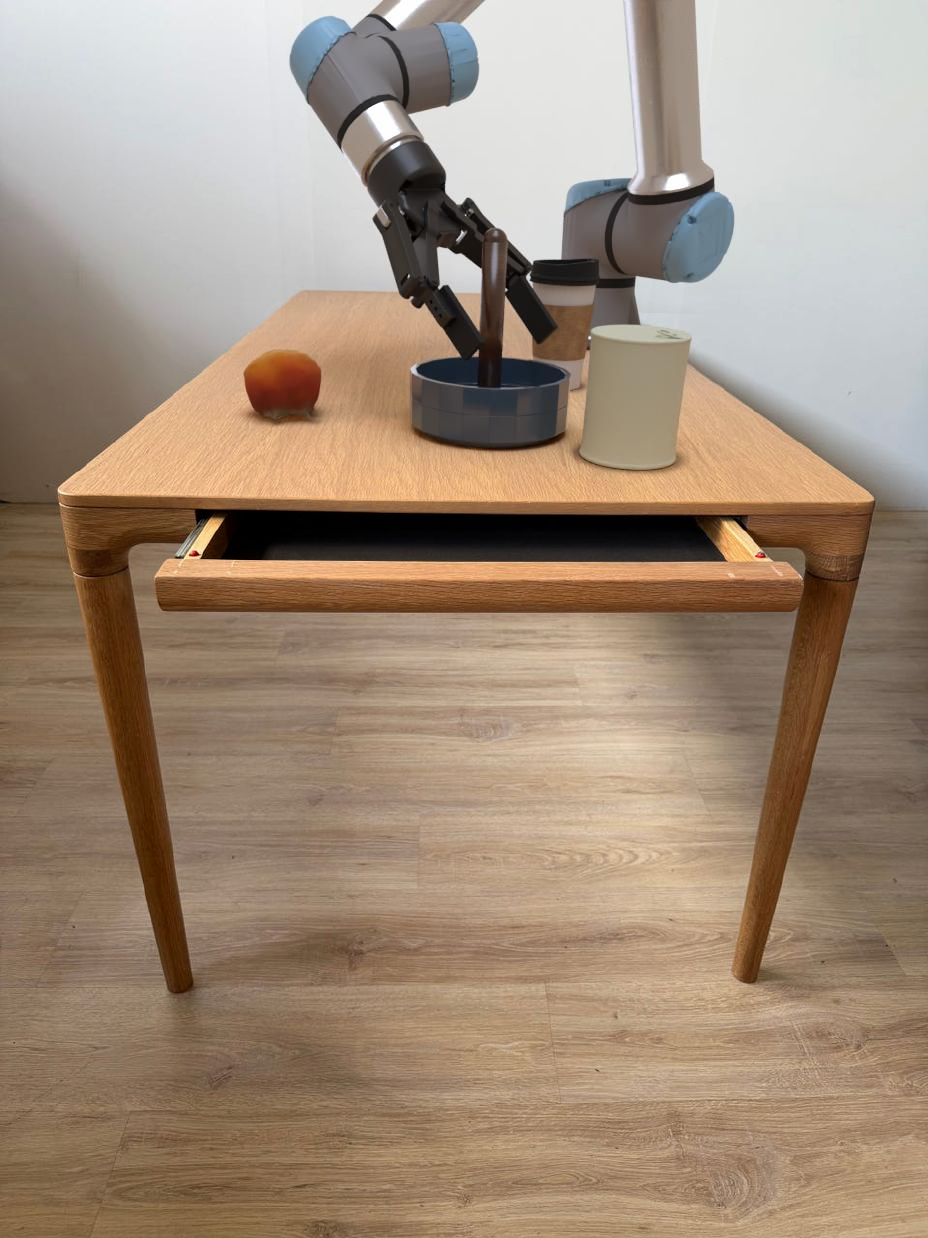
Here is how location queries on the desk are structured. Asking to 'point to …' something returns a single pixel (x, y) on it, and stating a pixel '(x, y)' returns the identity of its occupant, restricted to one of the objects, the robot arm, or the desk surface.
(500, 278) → the stick
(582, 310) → the coffee cup
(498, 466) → the desk surface
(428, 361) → the bowl
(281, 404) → the fruit
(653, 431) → the can
